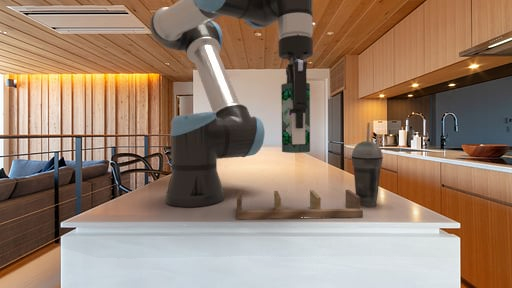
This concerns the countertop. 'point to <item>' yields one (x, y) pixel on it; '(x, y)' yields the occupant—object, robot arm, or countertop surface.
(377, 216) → the countertop surface
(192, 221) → the countertop surface
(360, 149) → the beverage cup
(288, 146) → the can
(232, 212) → the countertop surface
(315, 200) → the notch rack
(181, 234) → the countertop surface
